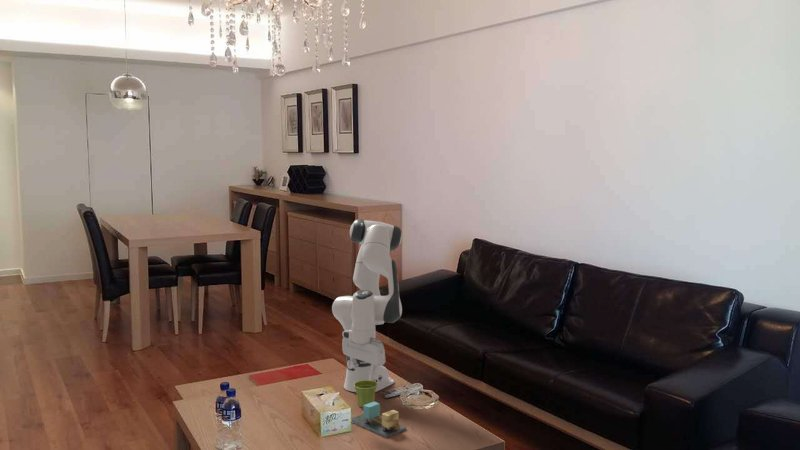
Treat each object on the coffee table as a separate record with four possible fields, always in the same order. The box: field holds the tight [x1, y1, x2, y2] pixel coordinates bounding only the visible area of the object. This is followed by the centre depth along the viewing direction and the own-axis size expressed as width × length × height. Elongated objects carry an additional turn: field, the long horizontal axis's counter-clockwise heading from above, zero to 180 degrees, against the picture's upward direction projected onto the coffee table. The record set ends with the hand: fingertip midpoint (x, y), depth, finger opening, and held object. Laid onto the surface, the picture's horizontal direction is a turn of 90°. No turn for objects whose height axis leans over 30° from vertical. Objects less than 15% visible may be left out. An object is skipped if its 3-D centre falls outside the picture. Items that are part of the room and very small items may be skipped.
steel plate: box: [351, 414, 407, 439], centre depth 247 cm, size 10×20×1 cm, turn 44°
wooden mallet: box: [361, 409, 402, 431], centre depth 247 cm, size 6×19×6 cm, turn 44°
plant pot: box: [354, 380, 377, 408], centre depth 267 cm, size 9×9×9 cm
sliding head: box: [362, 400, 381, 422], centre depth 249 cm, size 6×3×6 cm, turn 134°
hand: (363, 371), depth 249 cm, fingers open, 8 cm apart
